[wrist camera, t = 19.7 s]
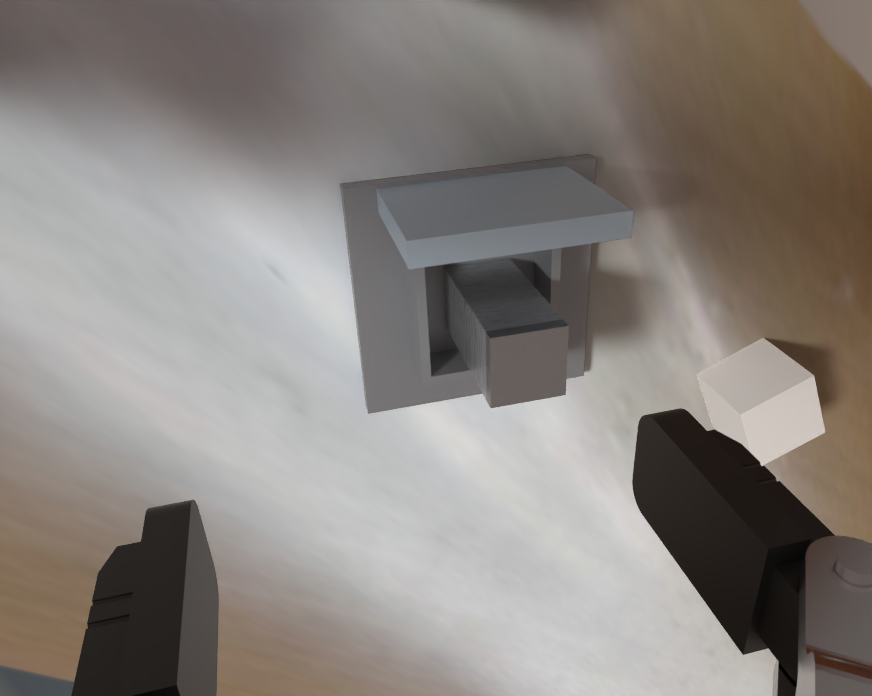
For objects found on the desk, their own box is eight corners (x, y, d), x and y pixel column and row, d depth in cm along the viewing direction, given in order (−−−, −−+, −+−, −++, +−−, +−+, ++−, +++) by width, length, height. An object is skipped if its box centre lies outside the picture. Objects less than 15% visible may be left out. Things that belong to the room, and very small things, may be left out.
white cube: (775, 391, 60) (825, 432, 55) (711, 425, 61) (755, 469, 55) (762, 336, 57) (814, 375, 52) (695, 372, 57) (740, 415, 52)
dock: (366, 405, 51) (392, 497, 43) (340, 183, 43) (365, 241, 35) (578, 368, 54) (642, 447, 46) (589, 154, 46) (669, 201, 38)
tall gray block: (446, 327, 49) (490, 408, 40) (443, 266, 47) (489, 338, 38) (508, 317, 50) (565, 394, 41) (508, 257, 47) (568, 325, 39)
